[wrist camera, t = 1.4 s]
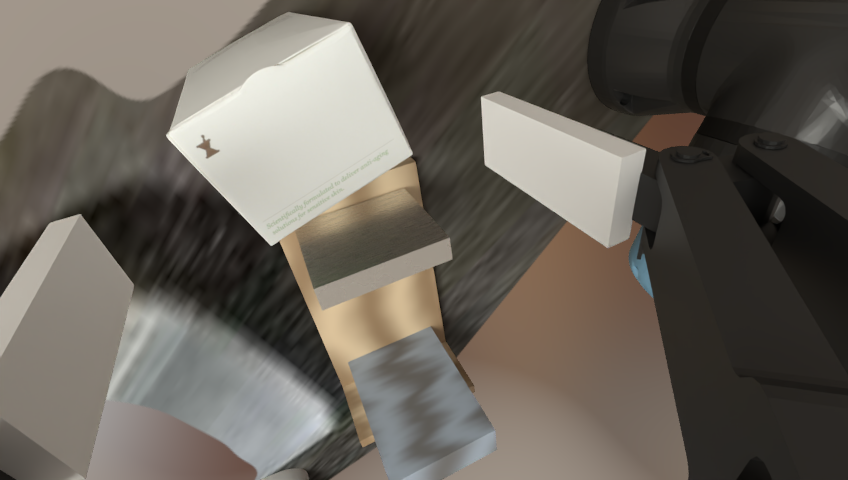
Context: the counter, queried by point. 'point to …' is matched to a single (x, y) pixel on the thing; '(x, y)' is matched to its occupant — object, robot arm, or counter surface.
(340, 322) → the book rack
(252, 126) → the skincare box
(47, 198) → the counter surface
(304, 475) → the lumpy-topped squat cylinder
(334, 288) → the grey rectangular slab
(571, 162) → the robot arm
